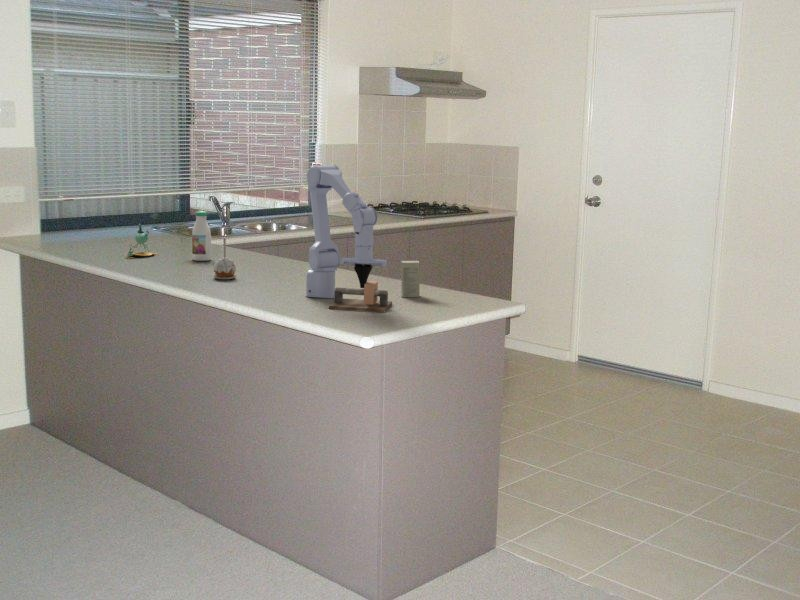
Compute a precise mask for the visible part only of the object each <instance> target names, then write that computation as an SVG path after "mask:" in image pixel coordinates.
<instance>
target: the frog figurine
mask: <svg viewBox="0 0 800 600" xmlns="http://www.w3.org/2000/svg"><path fill="white" fill-rule="evenodd" d="M149 234H150V232H149V231H148V230H146V233H145V232H144V231H143V229H142V224H141V223H138V230H137V233H136V234H135V238H134V239H135V243H136V245H132V244H129V245H128V247H129V251H128V252H127V253H125V255H126V256H127V257H125V259H126V260H132V259H135V257H134V256H138V257H150V256H155V255H158V254H157V253H155V252H151V250H149V247H148V245H146V243H147V241H148V240H149V237H148V236H149ZM138 245H139V248H142V246H143V247H144V251H137V252H134V250H133V249H137V248H138ZM130 246H131V247H130ZM146 250H147V251H146ZM132 256H133V257H132Z"/></svg>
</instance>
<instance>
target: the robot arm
mask: <svg viewBox="0 0 800 600" xmlns="http://www.w3.org/2000/svg"><path fill="white" fill-rule="evenodd" d="M306 179H307V186H308V187H307V189H308V191H309V197H310V204H311V215H312V221H313V230H314V231H313V232H314V239H315V241H314V243H313V245H311V246H310V247H309V249H308V251H309V255H308V264H309V267H310V268H311V269H309V270H307V273H306V283H305V284H306V289H305V290H306V293H305V294H306V295H305V297H309V298H320V299H321V298H322V299H334V291H335V288H336V271H337V270H338V268H339V267H340V265H342V266H343V265H344V266H345V265H348V266H349V265H351V266H352V265H353V266H354V268H353V270H354V271H355V273H356V276H357V278H358V281H359V286H360V288H359V289H364V284H366V283H367V282H368V279H369V276H370V273H371V271H372V269H373V267H382V268H386V267H387V259H375V258H373V256H374V255H373V252H374V249H373V247H374V246H373V245H374V226H375V225H376V224H377V223H378V222H377V221H378V214H377V211H376V210H375V208H374V207H372V206H371V207H370V206H368V205H366V203H365V201H364V200H362V198H361V197H360V194H359V193H357V192H354V191H351V189H350V188H349V186H348V185H347V184H346V182H345V180H344V178H343V171H342V170H341V169H340V167H339V166H338V165H336V164H333V165H315V164H314V165H311V166H310V167H309V168H308V171H307V173H306ZM332 189H333V190H334V191H335V192H336V193H337V194H338V195H339V196H340V197H341V198H342V200H341V201H342V205H343V206H344V208H345V209H346V210H347V212H348V213H349V214H350V215H351V216H350V218H351V223H352V224H353V231H354V257H342V258H341V254H340V252H339V246H338V245H337V244H335V242H333V241H332V238H331V237H332V236H331V235H332V234H331V227H330V219H329V209H328V202H327V194H328V193H329V192H330V191H331V190H332Z"/></svg>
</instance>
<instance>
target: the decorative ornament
mask: <svg viewBox="0 0 800 600" xmlns="http://www.w3.org/2000/svg"><path fill="white" fill-rule="evenodd" d="M226 240H227V239H226V238H225V237H223V257H220V258H219V259H217V260H216V261H215V262H214V264H213V273H215V274H214V275H213V278H215V279H218V280H224V281H226V280H231V279H235V278H237V275H236V274H235V272H236V270H237V269H236V268H237V267H236V264H235V263H234V260H232V259H231V258H230V257H227V255H226V254H227V251H226V250H227V249H226V247H227V243H226V242H227V241H226Z"/></svg>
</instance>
